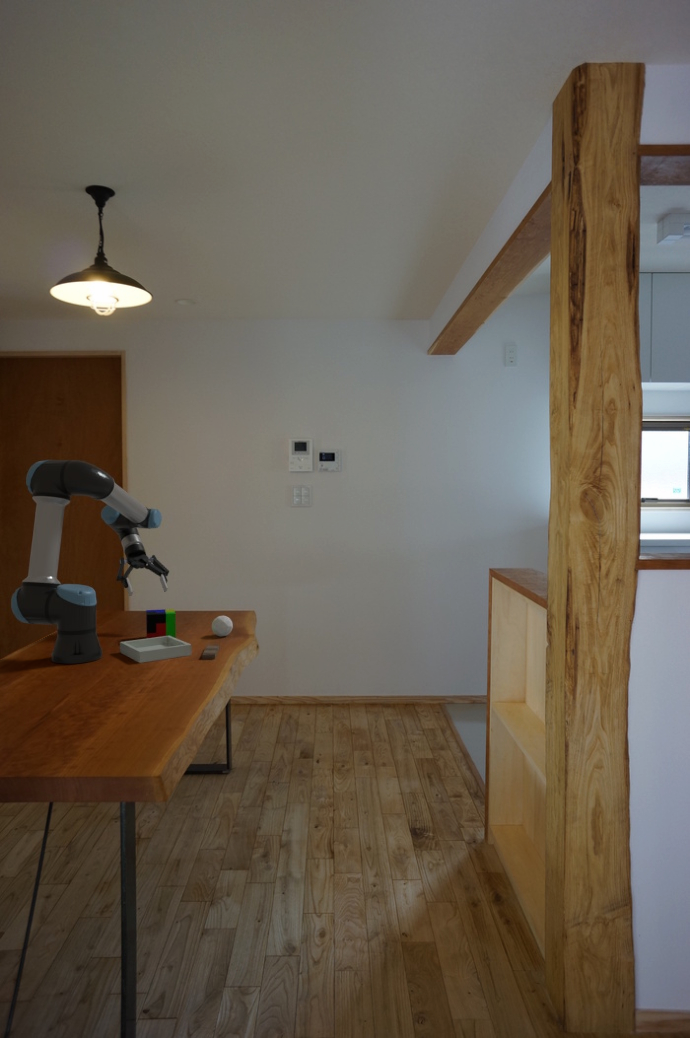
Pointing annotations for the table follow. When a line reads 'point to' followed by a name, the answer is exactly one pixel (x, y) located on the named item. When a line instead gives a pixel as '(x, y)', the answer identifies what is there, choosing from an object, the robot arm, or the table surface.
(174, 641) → the white square tray
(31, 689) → the table surface
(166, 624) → the puzzle toy
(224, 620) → the geometric ball
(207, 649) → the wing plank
